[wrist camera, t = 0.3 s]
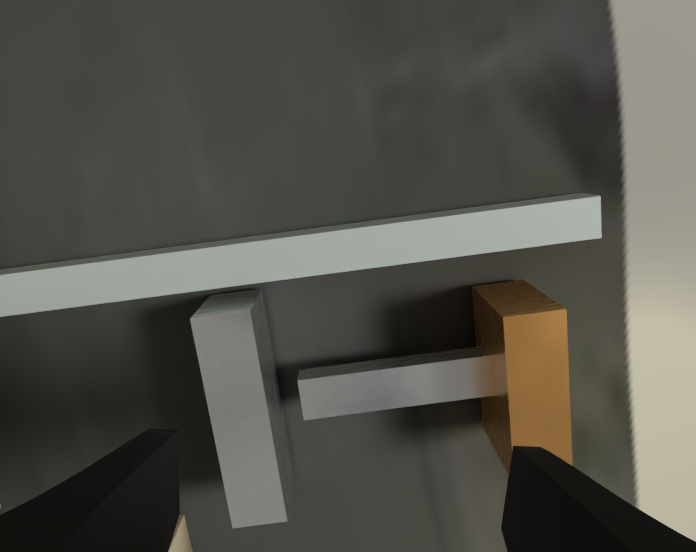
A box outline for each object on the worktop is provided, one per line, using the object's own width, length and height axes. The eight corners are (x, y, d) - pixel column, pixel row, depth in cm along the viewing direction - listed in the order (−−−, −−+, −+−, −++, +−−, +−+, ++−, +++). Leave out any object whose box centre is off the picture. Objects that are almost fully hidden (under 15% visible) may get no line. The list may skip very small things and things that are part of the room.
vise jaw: (532, 442, 22) (573, 503, 19) (245, 479, 22) (227, 547, 19) (521, 254, 21) (564, 278, 17) (210, 295, 21) (181, 328, 17)
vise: (589, 452, 23) (641, 513, 19) (-132, 545, 23) (-226, 625, 19) (581, 193, 20) (639, 202, 17) (-227, 299, 21) (-357, 333, 17)
